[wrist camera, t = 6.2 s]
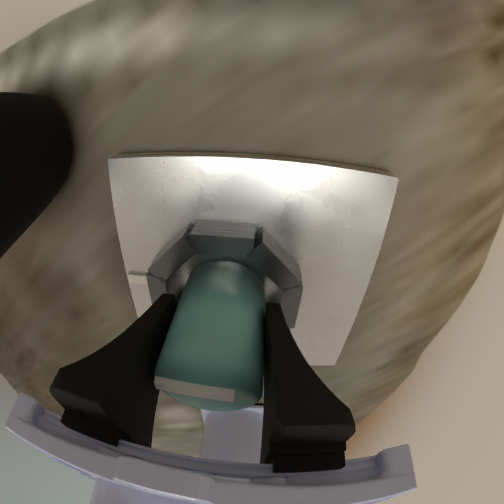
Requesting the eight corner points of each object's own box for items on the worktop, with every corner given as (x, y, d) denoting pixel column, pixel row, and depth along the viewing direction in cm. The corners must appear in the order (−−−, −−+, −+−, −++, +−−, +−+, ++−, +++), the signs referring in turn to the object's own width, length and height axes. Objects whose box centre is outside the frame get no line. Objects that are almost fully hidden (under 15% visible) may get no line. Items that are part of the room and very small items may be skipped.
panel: (332, 352, 20) (337, 381, 17) (152, 338, 20) (142, 365, 18) (389, 171, 12) (412, 188, 10) (119, 153, 12) (91, 167, 10)
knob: (271, 266, 14) (270, 373, 8) (259, 325, 16) (254, 421, 11) (184, 255, 14) (142, 354, 8) (187, 315, 16) (160, 406, 11)
